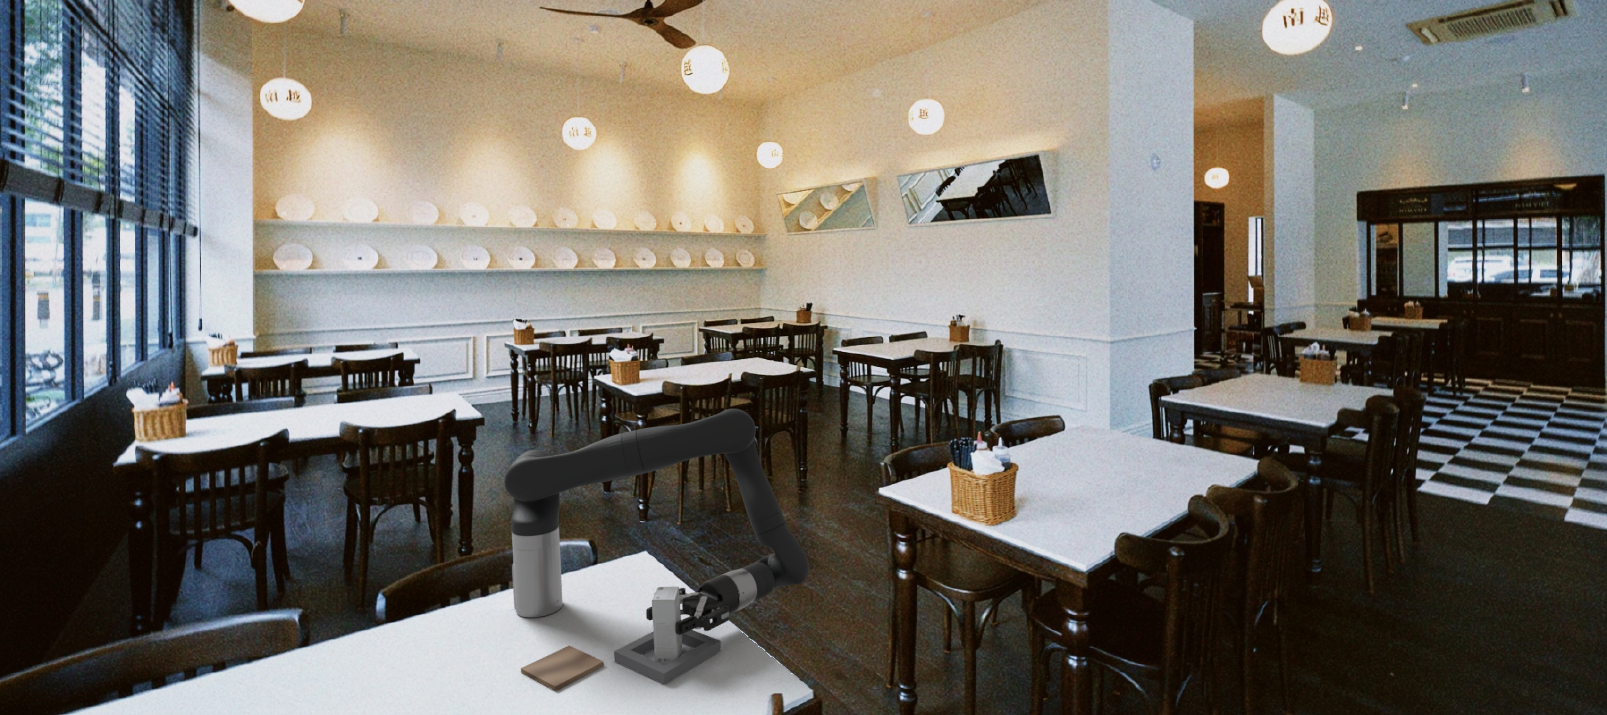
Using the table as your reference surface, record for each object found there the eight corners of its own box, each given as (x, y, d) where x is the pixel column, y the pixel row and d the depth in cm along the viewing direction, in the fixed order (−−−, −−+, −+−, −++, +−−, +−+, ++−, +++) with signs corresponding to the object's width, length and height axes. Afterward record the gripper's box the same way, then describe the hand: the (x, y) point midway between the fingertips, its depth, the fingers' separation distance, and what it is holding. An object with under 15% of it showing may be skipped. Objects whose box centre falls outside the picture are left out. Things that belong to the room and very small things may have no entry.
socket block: (614, 661, 133) (614, 651, 133) (672, 631, 144) (671, 621, 144) (664, 684, 125) (663, 673, 125) (721, 651, 136) (720, 640, 136)
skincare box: (678, 665, 132) (676, 599, 131) (653, 665, 132) (651, 600, 130) (683, 647, 138) (681, 585, 137) (658, 648, 138) (656, 586, 137)
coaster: (521, 672, 130) (520, 668, 130) (569, 649, 138) (569, 645, 138) (555, 690, 124) (555, 686, 124) (603, 665, 132) (603, 661, 132)
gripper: (704, 565, 150) (637, 591, 138) (753, 584, 140) (686, 613, 128) (704, 601, 150) (638, 629, 138) (754, 622, 141) (687, 654, 129)
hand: (661, 622), depth 133 cm, fingers open, 8 cm apart
